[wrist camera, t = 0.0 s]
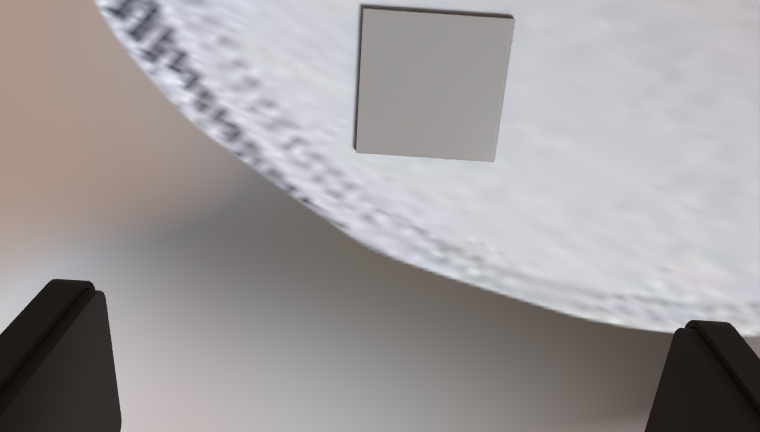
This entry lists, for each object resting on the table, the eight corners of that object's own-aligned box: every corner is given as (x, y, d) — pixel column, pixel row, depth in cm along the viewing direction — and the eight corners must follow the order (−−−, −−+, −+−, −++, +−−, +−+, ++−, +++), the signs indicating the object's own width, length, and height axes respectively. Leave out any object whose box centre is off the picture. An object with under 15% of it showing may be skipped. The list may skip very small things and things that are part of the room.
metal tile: (363, 7, 44) (363, 8, 44) (514, 18, 44) (515, 19, 44) (356, 150, 48) (355, 152, 48) (493, 160, 48) (494, 162, 48)
